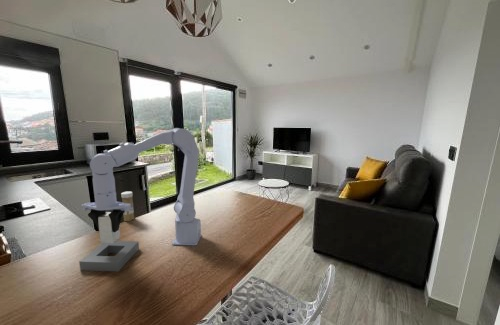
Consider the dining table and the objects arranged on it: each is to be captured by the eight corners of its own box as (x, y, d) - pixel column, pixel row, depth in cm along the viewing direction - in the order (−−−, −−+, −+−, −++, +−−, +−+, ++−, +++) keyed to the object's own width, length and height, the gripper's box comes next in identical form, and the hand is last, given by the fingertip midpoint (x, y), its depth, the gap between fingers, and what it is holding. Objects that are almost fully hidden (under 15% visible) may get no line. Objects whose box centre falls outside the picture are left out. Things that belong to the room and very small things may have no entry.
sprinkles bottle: (135, 220, 100) (132, 193, 97) (123, 222, 97) (121, 194, 95) (134, 216, 104) (131, 190, 101) (123, 218, 101) (120, 191, 99)
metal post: (120, 236, 73) (118, 212, 71) (112, 243, 69) (110, 217, 67) (108, 236, 73) (106, 211, 71) (100, 242, 69) (97, 217, 67)
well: (138, 248, 78) (138, 241, 77) (118, 271, 66) (117, 262, 65) (106, 247, 78) (105, 240, 77) (80, 270, 66) (79, 261, 65)
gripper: (134, 188, 72) (137, 225, 74) (91, 187, 71) (95, 224, 74) (122, 195, 65) (126, 235, 67) (74, 194, 64) (79, 235, 67)
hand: (109, 230), depth 70 cm, fingers closed on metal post, 4 cm apart
